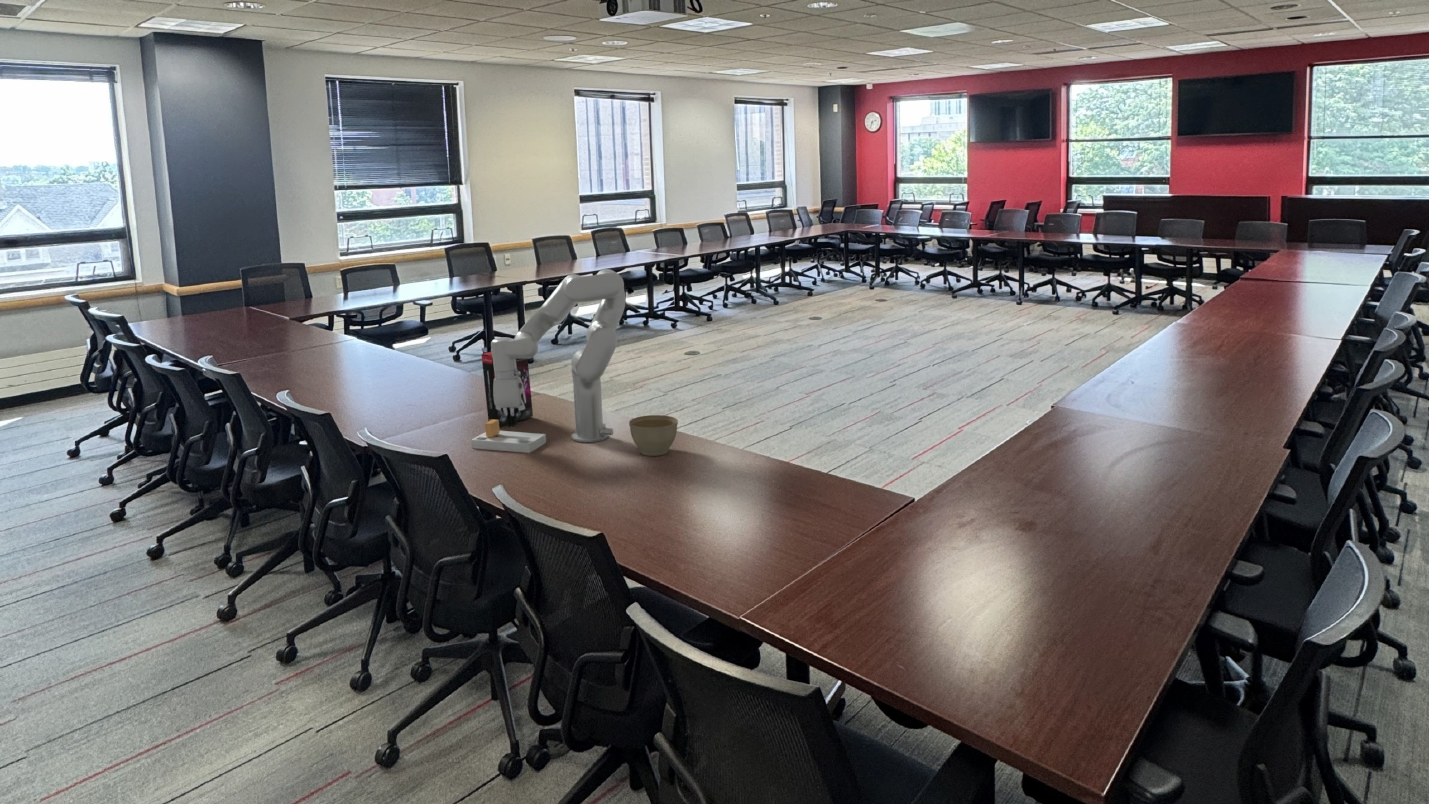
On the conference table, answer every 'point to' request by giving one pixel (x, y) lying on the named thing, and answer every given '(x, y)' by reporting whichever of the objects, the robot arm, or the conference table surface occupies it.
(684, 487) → the conference table surface
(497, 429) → the orange slider handle
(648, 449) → the planter bowl
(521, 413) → the graphics card box
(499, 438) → the slider switch
